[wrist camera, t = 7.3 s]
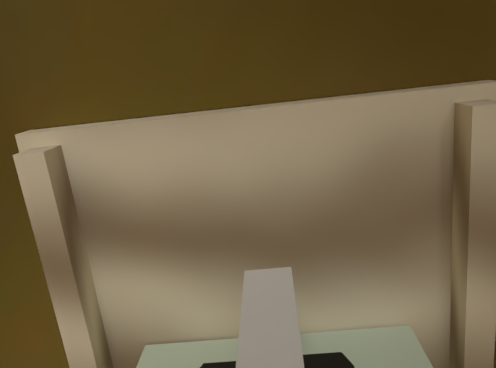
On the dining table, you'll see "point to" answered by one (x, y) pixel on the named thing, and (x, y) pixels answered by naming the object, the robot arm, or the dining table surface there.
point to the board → (272, 220)
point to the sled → (303, 349)
